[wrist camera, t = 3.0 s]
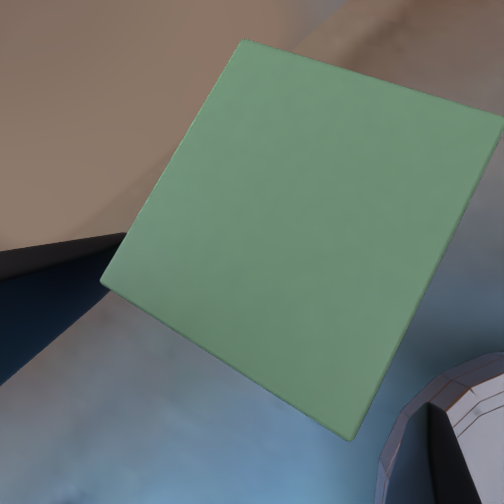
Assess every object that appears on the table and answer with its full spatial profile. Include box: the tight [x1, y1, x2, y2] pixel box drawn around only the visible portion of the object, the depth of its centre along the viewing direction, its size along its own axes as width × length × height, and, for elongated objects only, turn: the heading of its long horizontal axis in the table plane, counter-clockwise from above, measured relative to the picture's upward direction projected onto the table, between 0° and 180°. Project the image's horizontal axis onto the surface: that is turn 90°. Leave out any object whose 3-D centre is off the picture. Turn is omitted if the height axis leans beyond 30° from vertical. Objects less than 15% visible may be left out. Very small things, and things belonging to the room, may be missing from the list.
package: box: [100, 39, 504, 442], centre depth 12 cm, size 6×6×13 cm
